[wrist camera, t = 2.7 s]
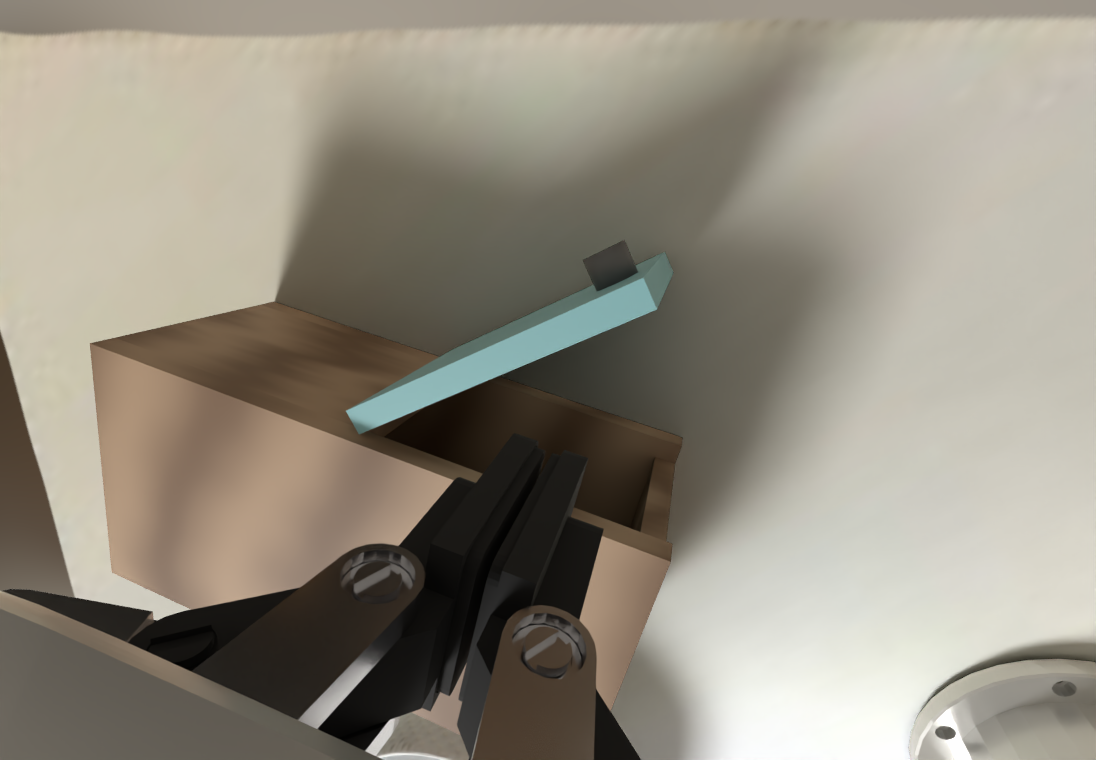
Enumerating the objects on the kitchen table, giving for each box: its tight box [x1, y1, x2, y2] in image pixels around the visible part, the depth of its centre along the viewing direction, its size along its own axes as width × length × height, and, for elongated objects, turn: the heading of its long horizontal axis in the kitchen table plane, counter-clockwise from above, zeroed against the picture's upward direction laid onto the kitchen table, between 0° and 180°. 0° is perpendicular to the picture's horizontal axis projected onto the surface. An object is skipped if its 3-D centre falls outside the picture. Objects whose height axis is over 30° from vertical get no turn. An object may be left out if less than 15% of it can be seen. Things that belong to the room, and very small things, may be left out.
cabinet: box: [90, 302, 682, 735], centre depth 26 cm, size 24×12×10 cm, turn 77°
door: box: [346, 240, 673, 434], centre depth 21 cm, size 12×2×9 cm, turn 117°
